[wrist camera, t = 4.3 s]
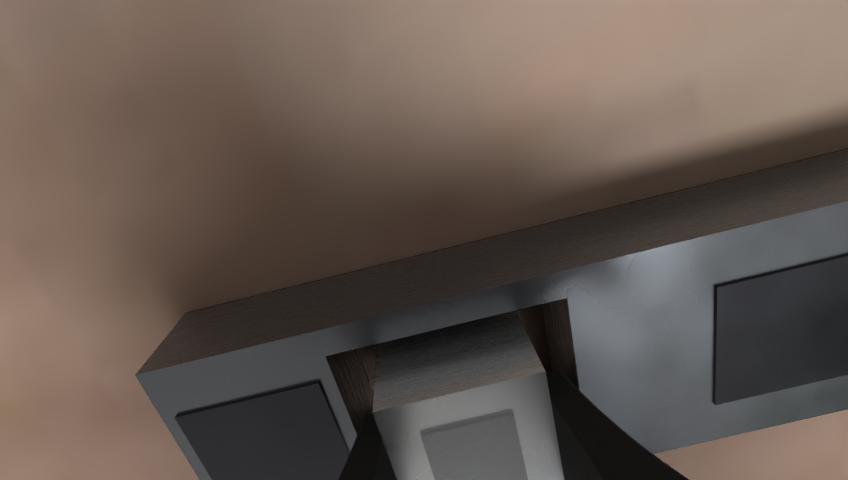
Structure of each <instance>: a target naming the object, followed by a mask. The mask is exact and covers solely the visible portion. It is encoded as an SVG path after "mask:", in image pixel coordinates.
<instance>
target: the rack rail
mask: <svg viewBox="0 0 848 480" xmlns="http://www.w3.org/2000/svg"><path fill="white" fill-rule="evenodd" d="M539 304H542V308H543V315H544V321H545V327H546V333H547V340H548V346H549V352H550V358H551V364H552V371H554V370H560V371H561V372H563V373H564V375H565V376H566V377H567V378H568V379H569V380H570V381H571V382H572V383H573V384H574V385H575V386H576V387H577V388H578V389H579V390H580V391H581V392H582V393H583V394H584V395H585V396H586V397H587V398H588V399H589V400H590V401H591V402H592V403H593V404H594V405H595V406H596V407H597V408H598V409H599V410H600V411H602V412H603V413H604V414H605V415H606V416H607V417H608V418H610V419H611V420H612V421H613V422H614V423H615V424H616V425H617V426H619V427H620V428H621V429H622V430H623V431H625V432H626V433H627V434H628V435H629V436H631V437H632V438H633V439H634V440H636V441H637V442H638V443H639V444H641V445H642V446H643V447H644V448H646V449H647V450H648V451H650V452H651V453H652V454H654V453H658V452H663V451H667V450H671V449H676V448H680V447H684V446H689V445H693V444H698V443H702V442H706V441H711V440H715V439H719V438H724V437H728V436H733V435H737V434H741V433H746V432H750V431H754V430H759V429H763V428H768V427H772V426H776V425H781V424H785V423H789V422H794V421H798V420H803V419H807V418H811V417H816V416H820V415H824V414H829V413H833V412H838V411H842V410H846V409H848V149H846V150H842V151H838V152H834V153H830V154H826V155H822V156H818V157H813V158H809V159H805V160H801V161H797V162H793V163H789V164H785V165H781V166H777V167H773V168H769V169H765V170H761V171H757V172H753V173H749V174H745V175H741V176H737V177H733V178H729V179H725V180H721V181H717V182H713V183H709V184H705V185H701V186H697V187H693V188H689V189H684V190H680V191H676V192H672V193H668V194H664V195H660V196H656V197H652V198H648V199H644V200H640V201H636V202H632V203H628V204H624V205H620V206H616V207H612V208H608V209H604V210H600V211H596V212H592V213H588V214H584V215H580V216H576V217H572V218H568V219H564V220H559V221H555V222H551V223H547V224H543V225H539V226H535V227H531V228H527V229H523V230H519V231H515V232H511V233H507V234H503V235H499V236H495V237H491V238H487V239H483V240H479V241H475V242H471V243H467V244H463V245H459V246H455V247H451V248H447V249H443V250H439V251H435V252H430V253H426V254H422V255H418V256H414V257H410V258H406V259H402V260H398V261H394V262H390V263H386V264H382V265H378V266H374V267H370V268H366V269H362V270H358V271H354V272H350V273H346V274H342V275H338V276H334V277H330V278H326V279H322V280H318V281H314V282H310V283H305V284H301V285H297V286H293V287H289V288H285V289H281V290H277V291H273V292H269V293H265V294H261V295H257V296H253V297H249V298H245V299H241V300H237V301H233V302H229V303H225V304H221V305H217V306H213V307H209V308H205V309H201V310H197V311H193V312H189V313H185V315H184V316H183V317H182V318H181V320H180V321H179V322H178V323H177V324H176V326H175V327H174V328H173V329H172V331H171V332H170V333H169V334H168V335H167V337H166V338H165V339H164V340H163V342H162V343H161V344H160V345H159V346H158V348H157V349H156V350H155V351H154V353H153V354H152V355H151V356H150V357H149V359H148V360H147V361H146V362H145V364H144V365H143V366H142V367H141V369H140V370H139V371H138V372H137V373H136V375H135V376H136V377H137V379H138V381H139V382H140V384H141V385H142V387H143V389H144V390H145V392H146V394H147V395H148V397H149V398H150V400H151V402H152V403H153V405H154V406H155V408H156V410H157V411H158V413H159V415H160V416H161V418H162V419H163V421H164V423H165V424H166V426H167V427H168V429H169V431H170V432H171V434H172V435H173V437H174V439H175V440H176V442H177V444H178V445H179V447H180V448H181V450H182V452H183V453H184V455H185V456H186V458H187V460H188V461H189V463H190V465H191V466H192V468H193V469H194V471H195V473H196V474H197V476H198V477H199V479H200V480H338V479H339V476H340V474H341V472H342V470H343V468H344V465H345V463H346V461H347V459H348V456H349V454H350V451H351V449H352V447H353V444H354V442H355V439H356V437H357V434H358V431H359V429H360V426H361V423H362V421H363V419H364V417H365V416H366V415H368V414H372V412H373V397H374V394H373V391H372V389H371V386H370V383H369V380H368V378H367V375H366V372H365V369H364V367H363V364H362V361H361V359H360V356H359V353H358V350H357V349H358V348H362V347H366V346H370V345H374V344H378V343H382V342H387V341H391V340H395V339H399V338H403V337H407V336H411V335H416V334H420V333H424V332H428V331H432V330H436V329H440V328H444V327H449V326H453V325H457V324H461V323H465V322H469V321H473V320H478V319H482V318H486V317H490V316H494V315H498V314H502V313H506V312H511V311H515V310H519V309H523V308H527V307H531V306H535V305H539Z"/></svg>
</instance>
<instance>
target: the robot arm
mask: <svg viewBox="0 0 848 480" xmlns="http://www.w3.org/2000/svg"><path fill="white" fill-rule="evenodd" d="M546 377H547V382H548V388H549V394H550V400H551V405H552V411H553V417H554V422H555V428H556V434H557V440H558V445H559V451H560V457H561V462H562V468H563V474H564V480H689V479H687V478H686V477H684V476H683V475H681V474H680V473H679V472H677V471H676V470H674V469H673V468H671V467H670V466H668V465H667V464H666V463H664V462H663V461H662V460H660V459H659V458H658V457H656V456H655V455H654V454H652V453H651V452H650V451H648V450H647V449H646V448H644V447H643V446H642V445H641V444H639V443H638V442H637V441H636V440H634V439H633V438H632V437H631V436H629V435H628V434H627V433H626V432H625V431H623V430H622V429H621V428H620V427H619V426H617V425H616V424H615V423H614V422H613V421H612V420H611V419H610V418H608V417H607V416H606V415H605V414H604V413H603V412H602V411H600V410H599V409H598V408H597V407H596V406H595V405H594V404H593V403H592V402H591V401H590V400H589V399H588V398H587V397H586V396H585V395H584V394H583V393H582V392H581V391H580V390H579V389H578V388H577V387H576V386H575V385H574V384H573V383H572V382H571V381H570V380H569V379H568V378H567V377H566V376H565V375H564V373H563V372H561V371H560V370H554V371H550V372H546ZM338 480H397V478H396V476H395V473H394V470H393V467H392V465H391V462H390V459H389V456H388V454H387V451H386V448H385V445H384V443H383V440H382V437H381V435H380V432H379V429H378V426H377V424H376V421H375V418H374V415H373V413H372V414H368V415H366V416H365V417H364V419H363V421H362V423H361V426H360V429H359V431H358V434H357V437H356V439H355V442H354V444H353V447H352V449H351V451H350V454H349V456H348V459H347V461H346V463H345V465H344V468H343V470H342V472H341V474H340V476H339V479H338Z"/></svg>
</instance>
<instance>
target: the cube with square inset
mask: <svg viewBox="0 0 848 480" xmlns="http://www.w3.org/2000/svg"><path fill="white" fill-rule="evenodd" d="M372 413H373V415H374V418H375V421H376V424H377V426H378V429H379V432H380V435H381V437H382V440H383V443H384V445H385V448H386V451H387V454H388V456H389V459H390V462H391V465H392V467H393V470H394V473H395V476H396V478H397V480H564V474H563V468H562V462H561V457H560V451H559V445H558V440H557V434H556V428H555V422H554V417H553V411H552V405H551V400H550V394H549V388H548V382H547V377H546V371H545V369H544V367H543V365H542V363H541V361H540V359H539V357H538V355H537V353H536V351H535V349H534V347H533V345H532V343H531V341H530V339H529V337H528V335H527V333H526V331H525V329H524V327H523V325H522V323H521V321H520V318H519V316H518V314H517V312H516V310H515V311H511V312H506V313H502V314H498V315H494V316H490V317H486V318H482V319H478V320H473V321H469V322H465V323H461V324H457V325H453V326H449V327H444V328H440V329H436V330H432V331H428V332H424V333H420V334H416V335H411V336H407V337H403V338H399V339H395V340H391V341H387V342H382V343H378V344H377V355H376V369H375V383H374V397H373V412H372Z"/></svg>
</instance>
